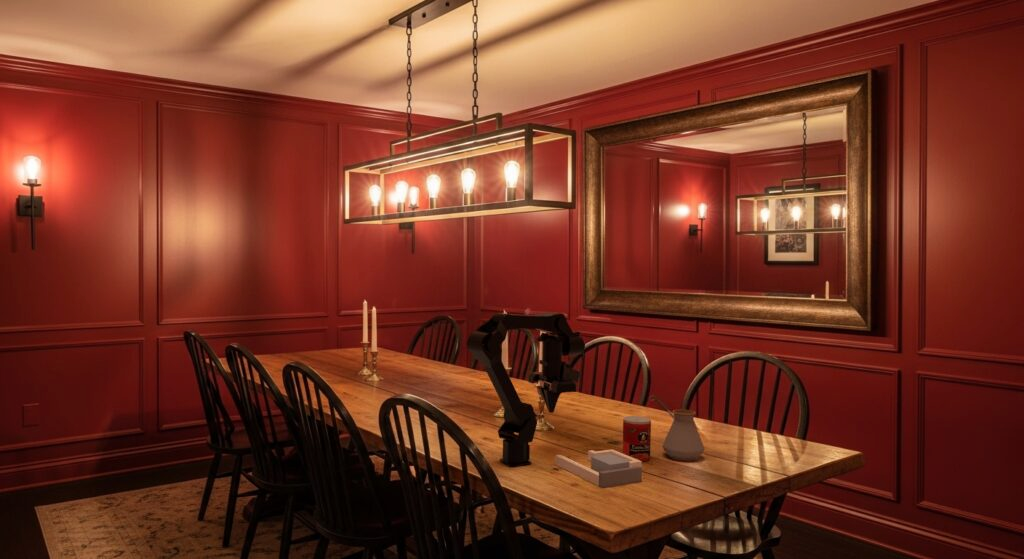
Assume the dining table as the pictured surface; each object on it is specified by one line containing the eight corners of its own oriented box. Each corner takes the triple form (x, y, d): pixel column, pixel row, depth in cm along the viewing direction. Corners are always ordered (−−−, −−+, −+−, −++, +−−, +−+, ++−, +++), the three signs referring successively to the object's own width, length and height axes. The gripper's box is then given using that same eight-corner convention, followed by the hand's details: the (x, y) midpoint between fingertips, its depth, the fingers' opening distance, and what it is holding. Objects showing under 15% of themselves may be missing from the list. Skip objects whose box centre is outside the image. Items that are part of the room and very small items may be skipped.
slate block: (609, 484, 175) (610, 464, 175) (590, 476, 182) (591, 456, 182) (629, 481, 178) (629, 461, 178) (610, 473, 185) (610, 453, 185)
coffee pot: (712, 460, 198) (714, 406, 197) (678, 464, 193) (680, 409, 193) (666, 441, 217) (667, 392, 217) (634, 445, 213) (635, 395, 212)
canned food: (630, 462, 194) (630, 422, 194) (617, 454, 202) (618, 416, 202) (655, 460, 196) (656, 421, 196) (642, 453, 204) (643, 415, 204)
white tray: (602, 487, 172) (602, 473, 172) (555, 464, 191) (555, 451, 191) (659, 478, 181) (659, 464, 181) (608, 456, 200) (609, 444, 200)
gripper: (594, 360, 195) (593, 417, 195) (561, 352, 212) (560, 404, 212) (558, 362, 190) (557, 420, 191) (528, 353, 207) (527, 406, 208)
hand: (551, 412), depth 201 cm, fingers closed
